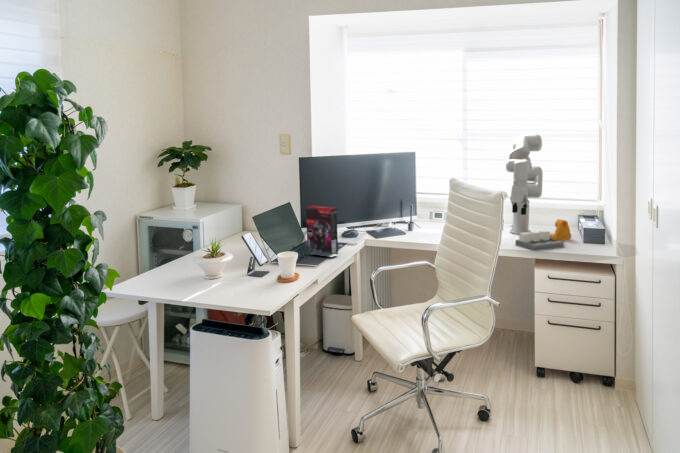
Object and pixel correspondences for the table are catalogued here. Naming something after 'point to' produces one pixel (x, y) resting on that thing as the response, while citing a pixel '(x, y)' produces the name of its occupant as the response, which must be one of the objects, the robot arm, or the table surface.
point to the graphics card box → (322, 229)
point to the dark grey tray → (540, 244)
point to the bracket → (561, 231)
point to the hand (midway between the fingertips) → (519, 213)
